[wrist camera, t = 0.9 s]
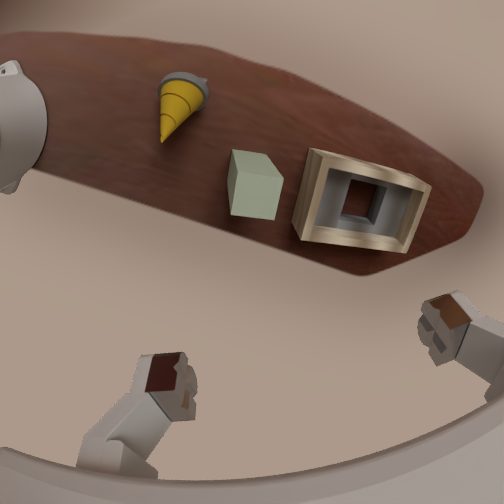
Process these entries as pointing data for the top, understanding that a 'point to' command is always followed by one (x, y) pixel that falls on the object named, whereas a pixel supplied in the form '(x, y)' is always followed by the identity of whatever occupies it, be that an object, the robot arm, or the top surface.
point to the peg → (253, 185)
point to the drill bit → (180, 99)
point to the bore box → (349, 226)
